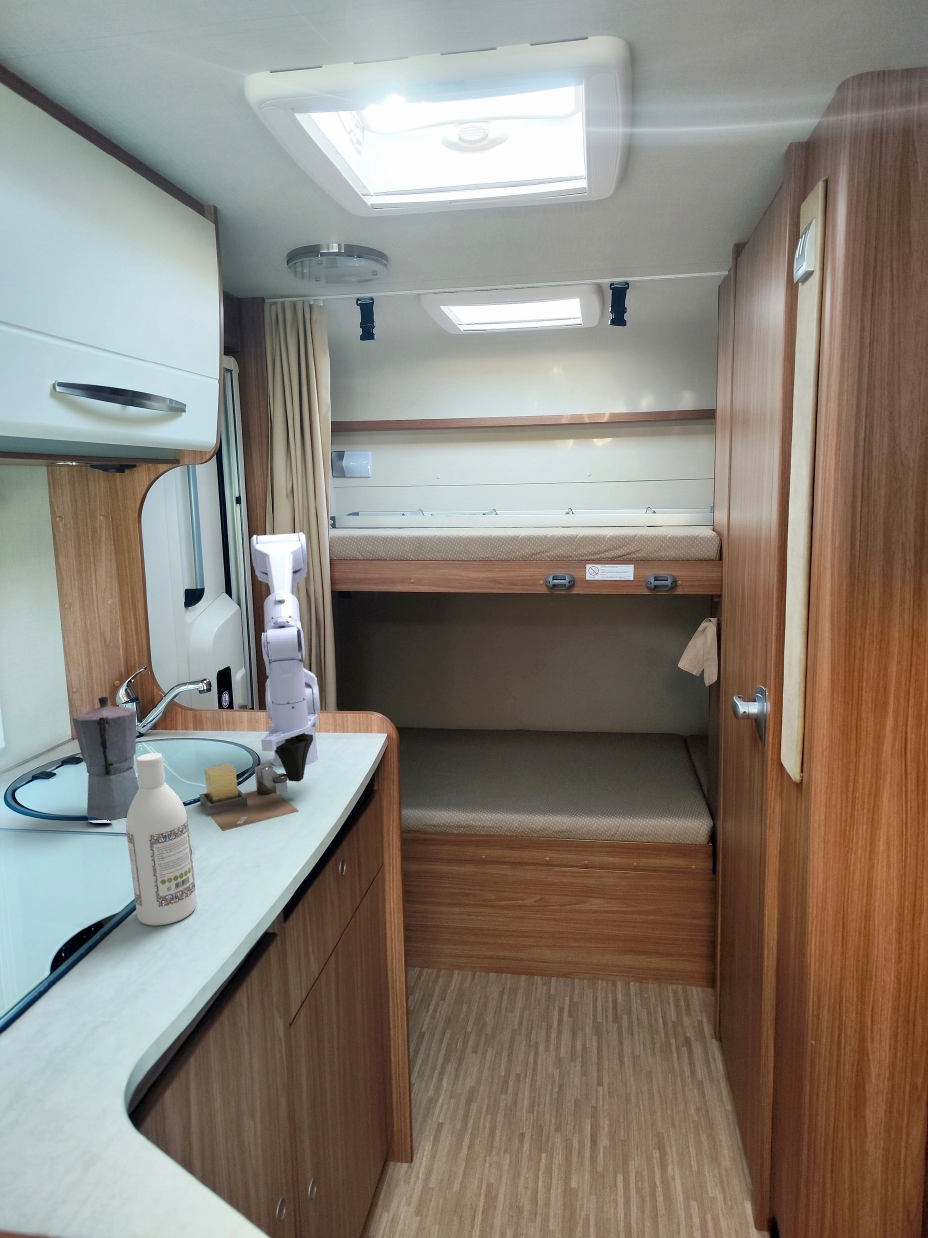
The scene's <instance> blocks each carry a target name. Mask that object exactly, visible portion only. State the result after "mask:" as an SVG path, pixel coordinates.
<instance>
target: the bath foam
mask: <svg viewBox="0 0 928 1238" xmlns="http://www.w3.org/2000/svg"><path fill="white" fill-rule="evenodd" d="M136 767H137V768H136V769H137V776H138V777H137V779H138V786H139V790H138V791H137V793H136V795H135V797H134V799H133V801H132V803H131V805H130V808H129V810H128V814H127V817H126V820H125V821H126V823H125V824H126V825H125V826H126V827H125V828H126V829H125V830H126V831H125V832H126V839H127V847H128V854H129V861H130V862H129V863H130V870H131V871H130V872H131V878H132V885H133V894H134V902H135V909H136V916H137V919H138V920H139V922H140V923H142V924H144V925H147V926H165V925H170V924H173V923H176V922H179V921H182V920H183V919H185V918H187V917H188V916H190V915H191V914H192V913H193V912H195V909H196V908H197V904H198V900H197V892H196V881H195V880H196V879H195V872H194V871H195V870H194V864H193V855H192V853H193V852H192V848H191V847H192V846H191V838H190V837H191V836H190V829H189V828H190V827H189V820H188V815H187V810H186V807H185V805H184V804H183V801H182V799H181V798H180V797H179V795H178V794H177V793H176V792H175V791H174V790H173V789H172V788H171V787H170V786H169V785H168V784H167V783H166V777H165V767H164V757H163V755H162V753H158V752H152V753H144V754H141V755H140V756H138V757H136Z"/></svg>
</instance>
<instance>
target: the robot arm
mask: <svg viewBox="0 0 928 1238" xmlns="http://www.w3.org/2000/svg"><path fill="white" fill-rule="evenodd" d="M250 553H251V560H252V565H253V567H254V572H255V575H256V576H257V579H258V581H261V582H263V583H266V584H268V587H269V590H270V591H269V592H270V595H268V596H267V597H266V598H265V600H264V603H263V613H264V614H263V615H264V632H262V633H261V649H262V657H263V660H264V664H265V669H266V670H265V673H266V676H268V678H267V679H266V682H265V707H266V708H265V710H266V716H267V718H268V719H269V720H270V721H272V724H269V725H268V726H267V731H268V733H267V734H266V735H265V736H264V737H262V738H261V740H260V741H261V750H262V751H263V752H273V753H274V758H271V759H270V760H269V761H270V763H271V765H272V766H275V767H276V766H282V767H283V769H284V772H285V774H287V778H288V780H287V781H288V782H296V783H298V782H301V781H303V779H304V775H305V770H306V765H310V764H313V763H315V762H316V761H317V760H318V759H319V758H318V747H317V738H316V737H317V735H316V727H319V725H320V723H319V715H320V714H321V703H320V693H319V692H320V691H319V685H318V678H317V676H316V675H315V674H314V673H313V672H312V671H310V670H308V669H307V668H304V661H305V657H306V650H305V649H306V647H305V640H304V639H305V638H304V637H305V636H304V632H303V628H302V623H301V618H300V617H301V616H300V604H299V600H298V599H297V596H296V592H297V591H296V590H297V586H298V583H299V581H300V580H303V579H304V578H306V577H307V572H308V554H307V541H306V534H304V533H303V532H302V531H301V532H299V533H297V532H296V533H284V534H283V533H282V534H281V533H280V534H266V535H257V534H254V535H253V536H252V537H251V538H250ZM301 654H302V657H301ZM301 658H302V659H301Z"/></svg>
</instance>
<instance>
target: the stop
mask: <svg viewBox="0 0 928 1238" xmlns="http://www.w3.org/2000/svg"><path fill="white" fill-rule="evenodd" d="M236 772H237V770H236V769H235V767H233V766H232V765H231V764H230V763H225V764H221V765H215V766H212V767H206V768H204V776H205V787H206V788H205V789H206V793H207V797H208V801H209V802H210V803H211V804H215V803H219V802H224V801H228V800H232V799H236V798H238V789H239V788H238V780H237V773H236ZM237 788H238V789H237Z"/></svg>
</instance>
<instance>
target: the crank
mask: <svg viewBox="0 0 928 1238" xmlns="http://www.w3.org/2000/svg"><path fill="white" fill-rule="evenodd" d="M254 777H255V778H254V779H255V787H256V790H257V794H259V795H266V794H271V793H273V792H274V793H275V794H276V795H278V794H280V795H282V794H286V793H288V782H287V781H289V780H288V778H287V774H286V772H285V773H283V772H281V773H278V772H277V771H275V770H274V765H273V764H265V763H264V764H259V765H257V766H255V767H254Z"/></svg>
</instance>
